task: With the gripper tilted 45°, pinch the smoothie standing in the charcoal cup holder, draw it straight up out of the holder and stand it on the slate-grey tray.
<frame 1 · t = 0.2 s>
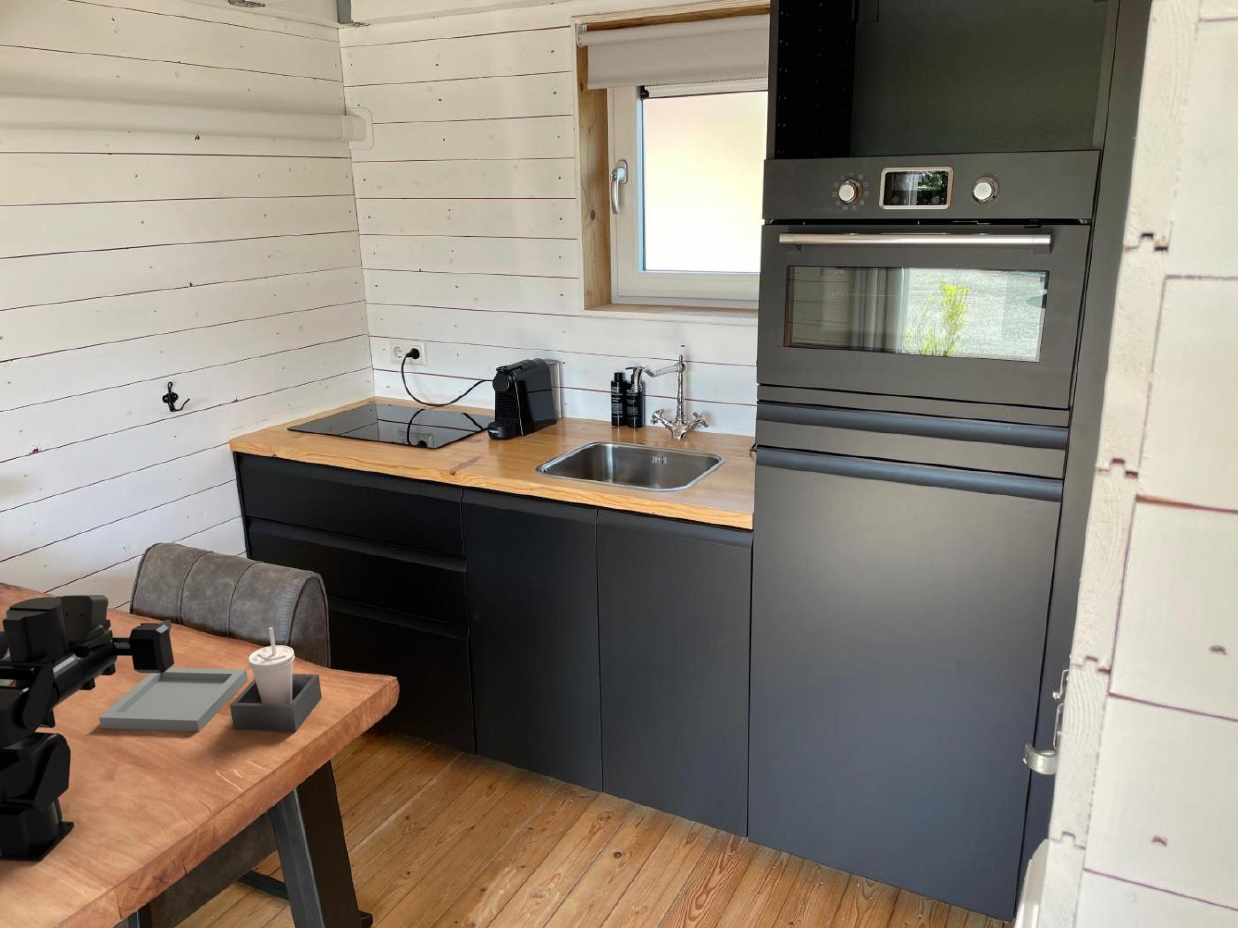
hand: (139, 622, 131), 17 cm above the table, tool horizontal, fingers open, 9 cm apart
tray: (177, 702, 142), on the table
cup holder: (278, 713, 139), on the table
smoothie: (279, 714, 139), resting in cup holder
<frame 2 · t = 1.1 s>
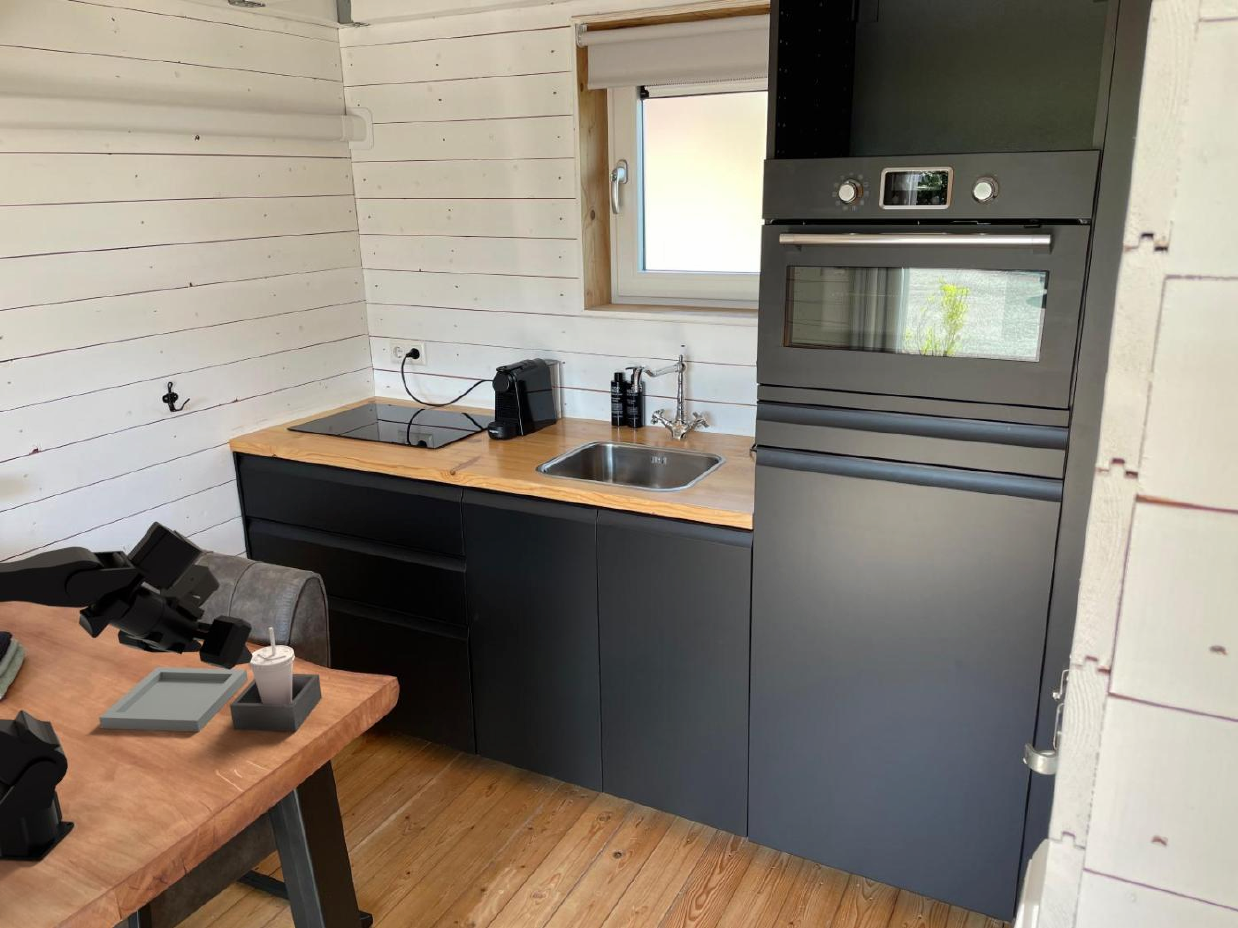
hand: (224, 653, 128), 14 cm above the table, tool tilted 45°, fingers open, 9 cm apart
nothing on the table moved.
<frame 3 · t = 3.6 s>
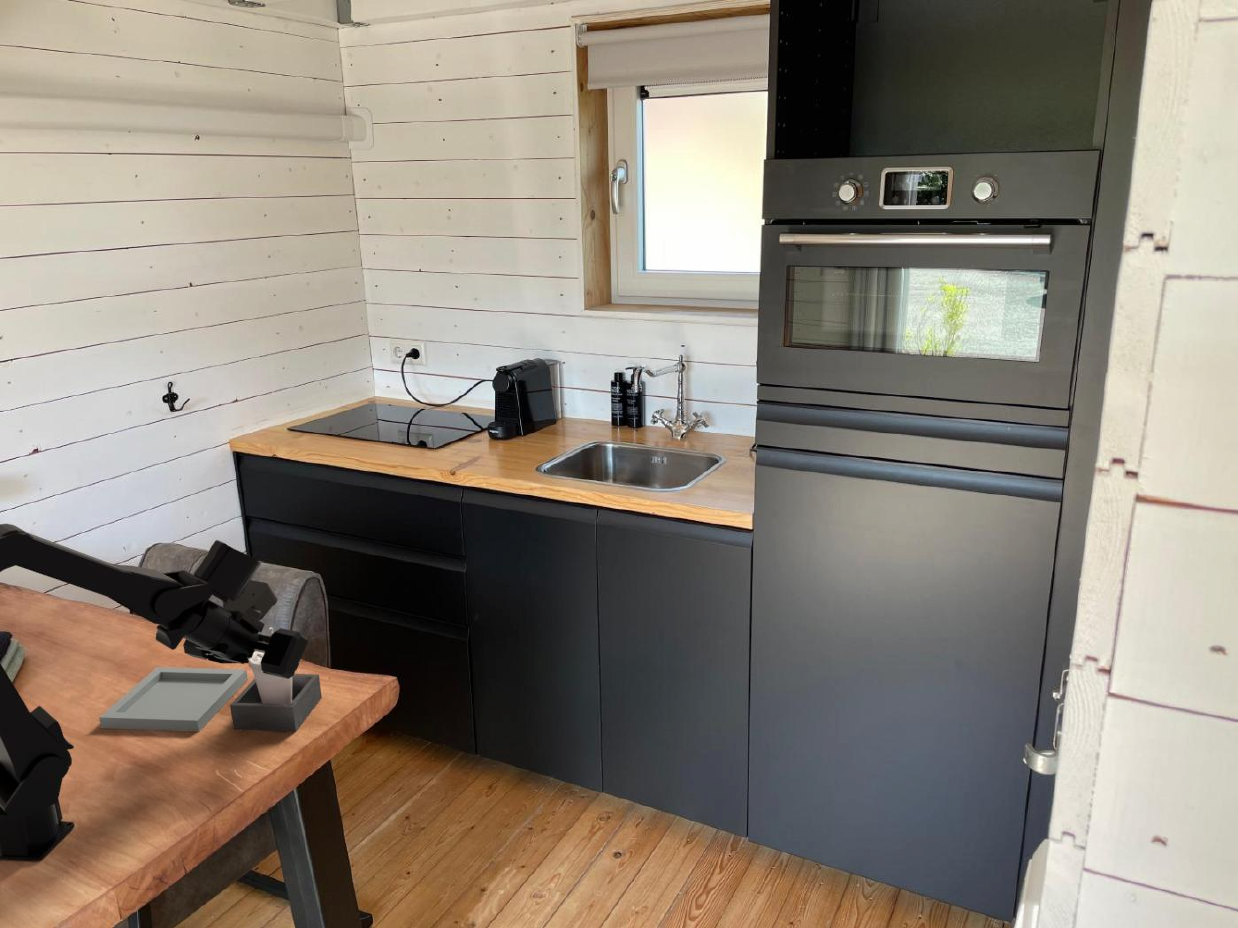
hand: (279, 663, 138), 8 cm above the table, tool tilted 45°, fingers closed on smoothie, 6 cm apart
smoothie: (279, 714, 139), resting in cup holder, touching gripper
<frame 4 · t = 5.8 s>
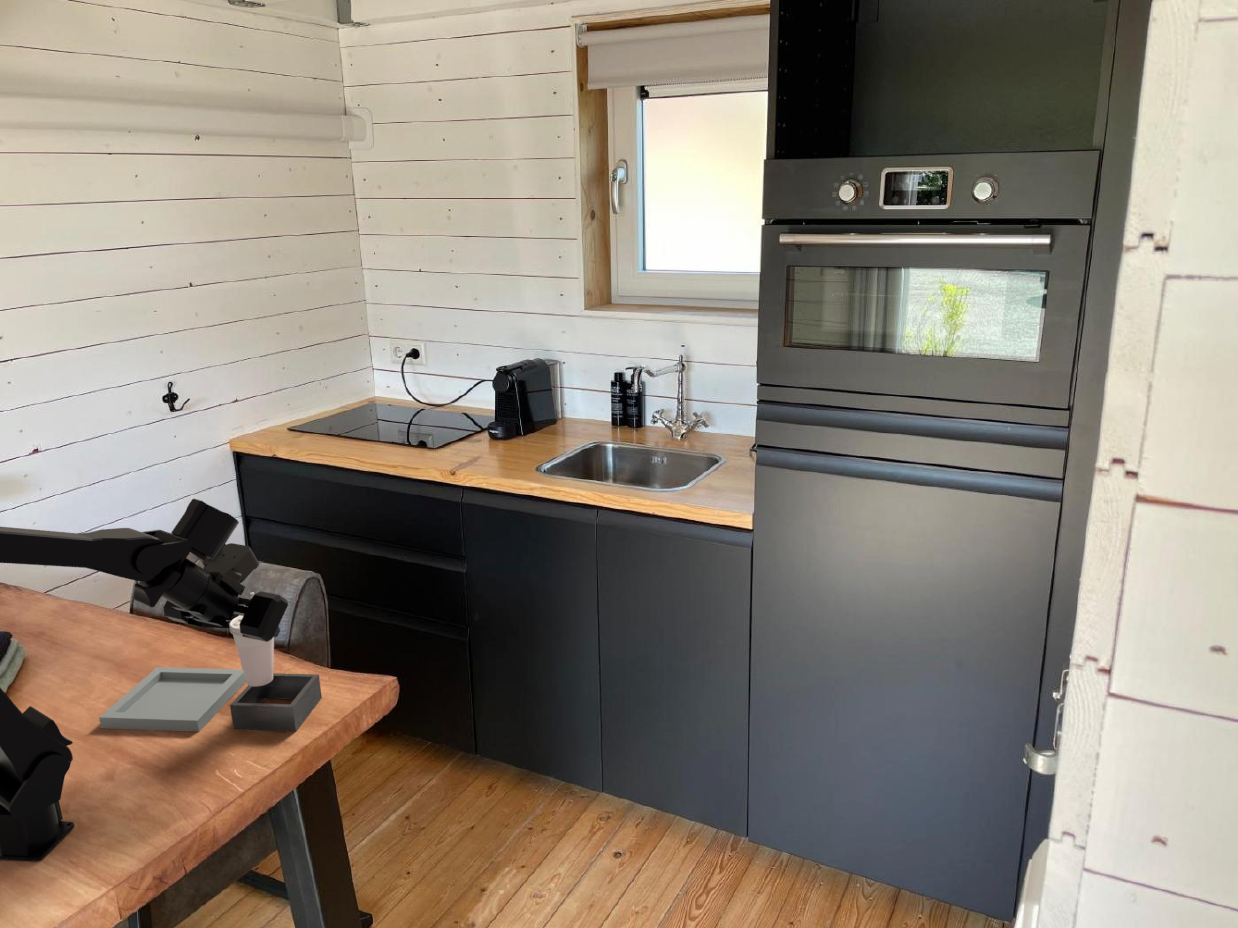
hand: (260, 629, 137), 13 cm above the table, tool tilted 45°, fingers closed on smoothie, 6 cm apart
smoothie: (260, 681, 137), point 5 cm above the table, touching gripper
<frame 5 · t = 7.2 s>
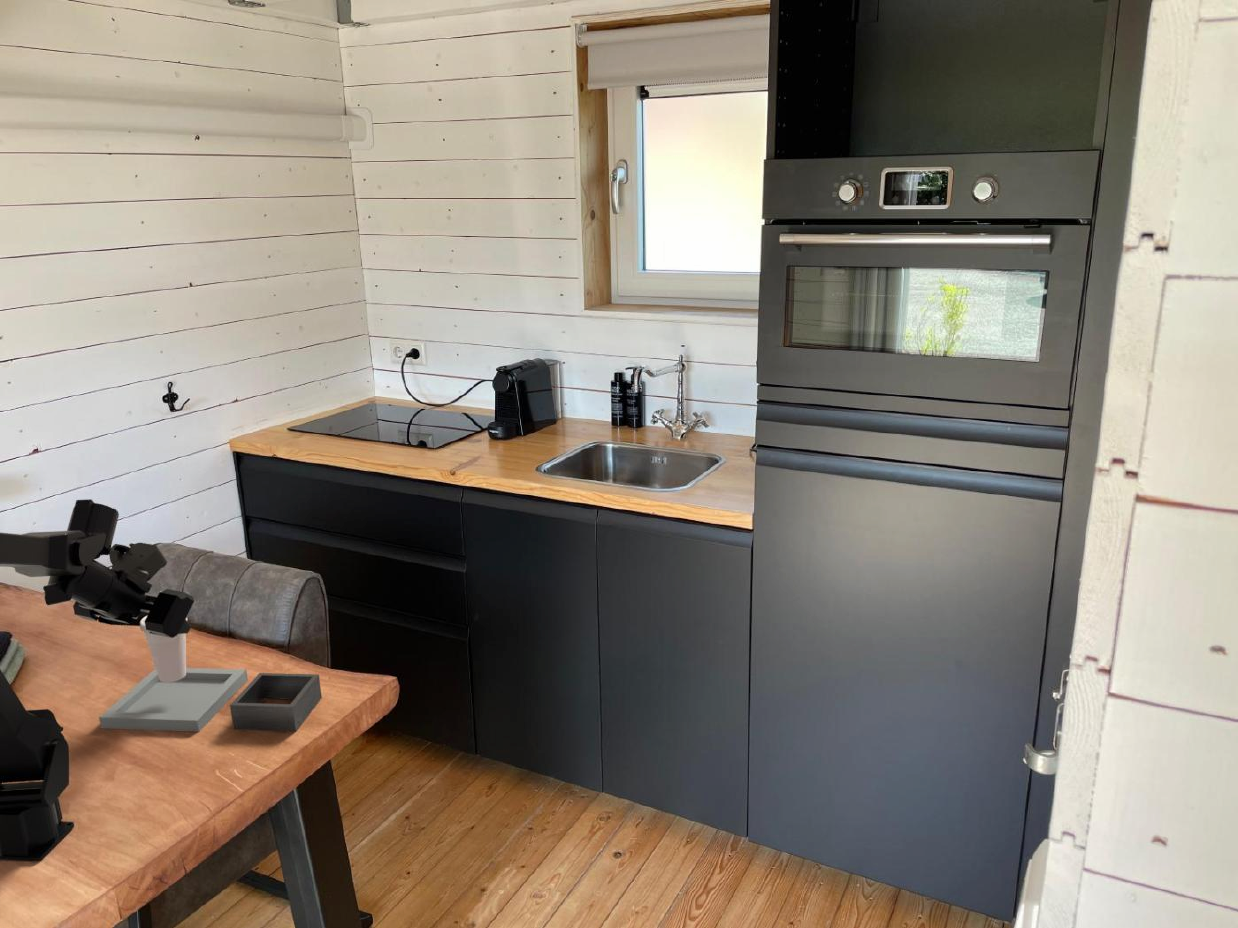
hand: (172, 626, 140), 12 cm above the table, tool tilted 45°, fingers closed on smoothie, 6 cm apart
smoothie: (173, 677, 141), point 4 cm above the table, touching gripper
when the fingers open (9 cm above the table, at t = 8.2 s): smoothie drops 1 cm, resting on tray.
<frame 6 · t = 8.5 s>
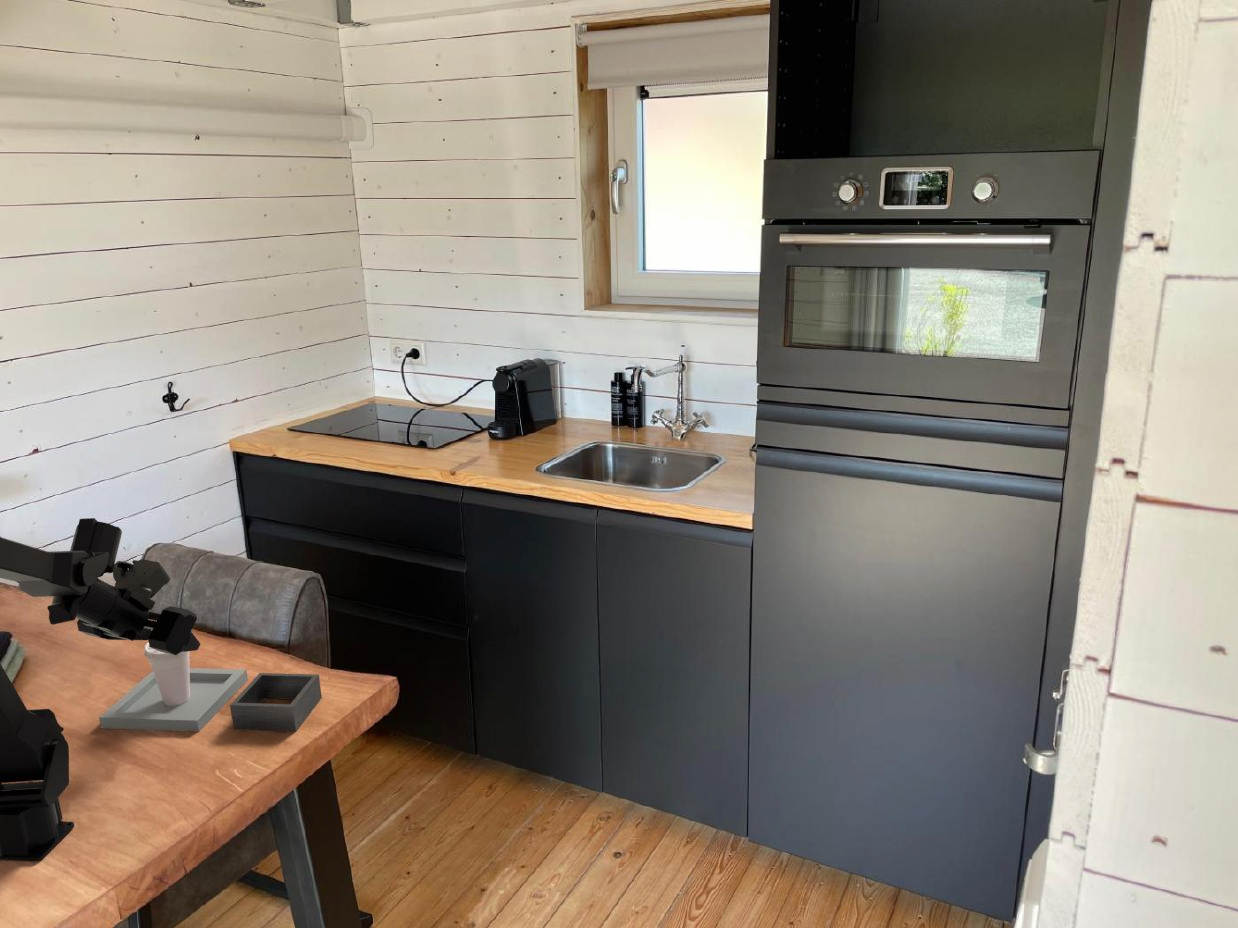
hand: (175, 641, 141), 10 cm above the table, tool tilted 45°, fingers open, 9 cm apart
smoothie: (177, 700, 142), point 1 cm above the table, touching tray
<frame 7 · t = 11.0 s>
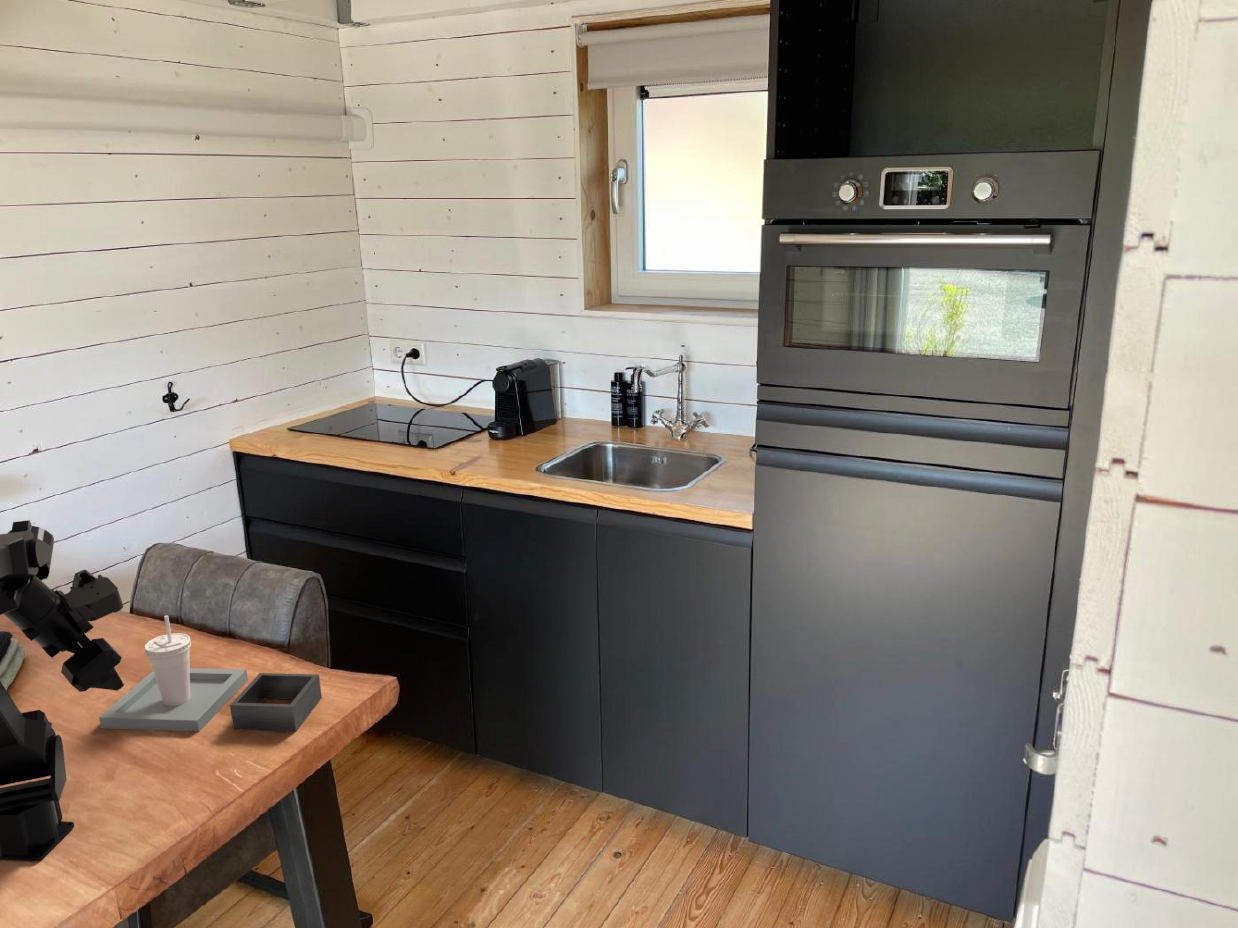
hand: (106, 671, 131), 10 cm above the table, tool tilted 30°, fingers open, 9 cm apart
nothing on the table moved.
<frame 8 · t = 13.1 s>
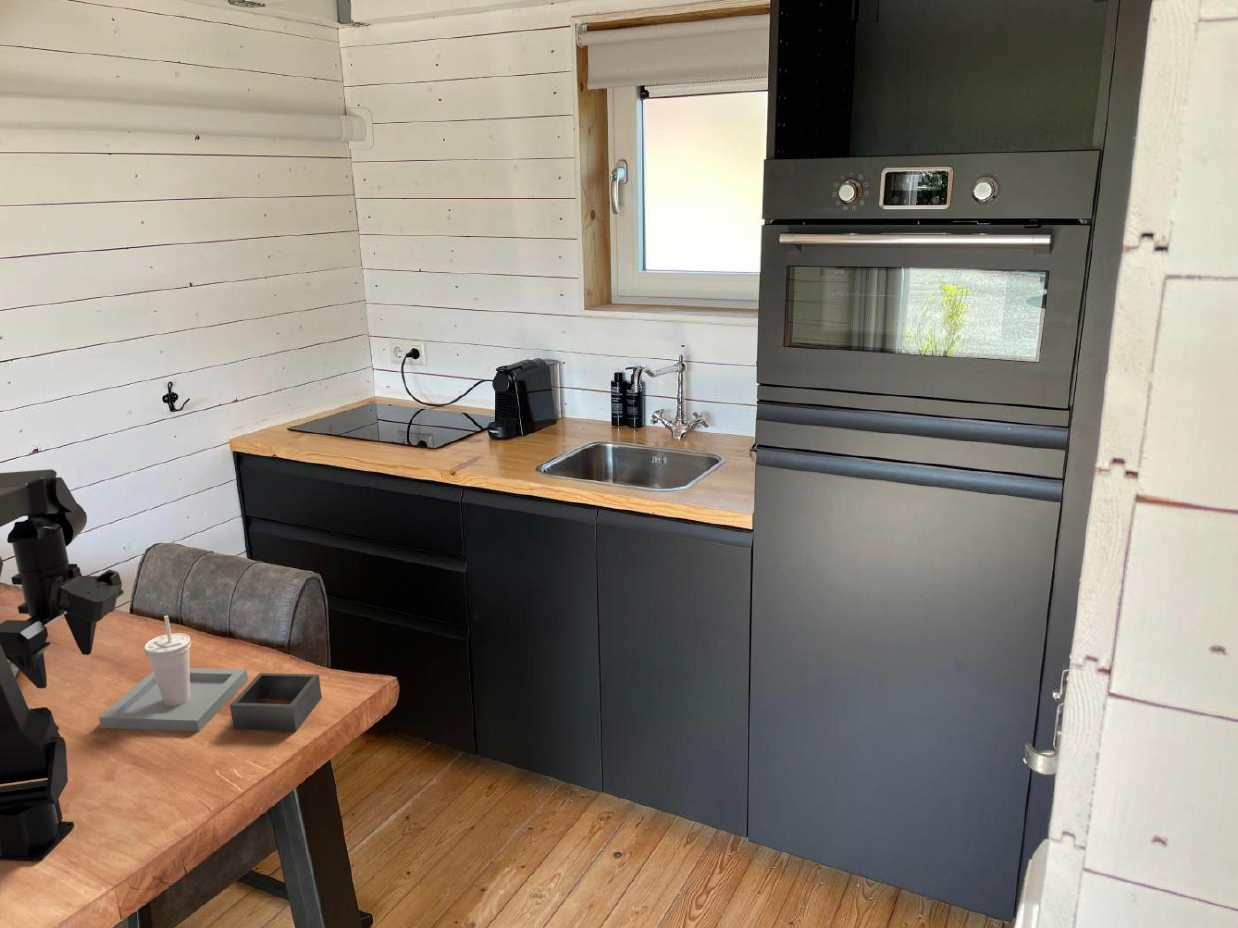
hand: (65, 670, 126), 13 cm above the table, tool pointing down, fingers open, 9 cm apart
nothing on the table moved.
at the end: smoothie inside the target area on the tray (0.1 cm from its centre), point 0.4 cm above the tray's base; smoothie tilted 0°; the gripper is holding nothing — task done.
